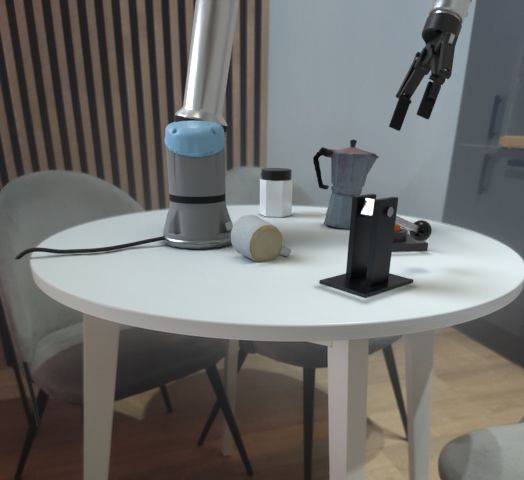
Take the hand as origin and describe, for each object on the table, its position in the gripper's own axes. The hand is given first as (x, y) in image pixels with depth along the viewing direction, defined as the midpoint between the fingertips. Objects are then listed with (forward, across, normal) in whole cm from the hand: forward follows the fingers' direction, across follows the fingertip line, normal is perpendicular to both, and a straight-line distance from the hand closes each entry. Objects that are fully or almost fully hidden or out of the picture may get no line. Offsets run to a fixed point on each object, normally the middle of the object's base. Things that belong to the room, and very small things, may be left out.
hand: (407, 123), depth 108 cm
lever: (+27, -34, +9) cm, 44 cm away
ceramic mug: (+38, -16, +24) cm, 47 cm away
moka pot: (+24, +13, +2) cm, 27 cm away
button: (+24, -13, 0) cm, 27 cm away
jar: (+26, +30, +16) cm, 43 cm away
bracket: (+36, -36, +11) cm, 52 cm away
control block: (+28, -12, -1) cm, 30 cm away
